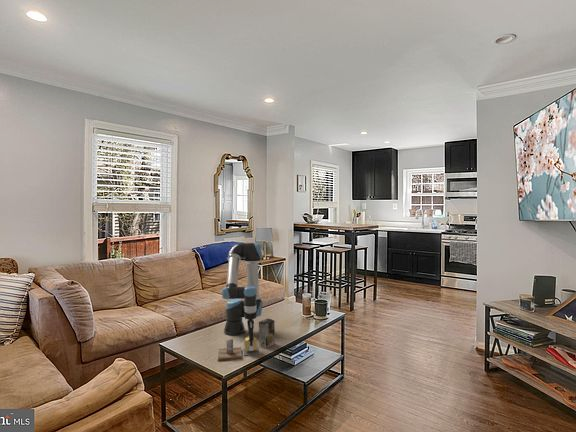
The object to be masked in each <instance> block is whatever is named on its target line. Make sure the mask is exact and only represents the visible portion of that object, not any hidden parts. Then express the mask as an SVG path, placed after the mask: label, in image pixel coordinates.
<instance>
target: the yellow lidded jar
mask: <svg viewBox="0 0 576 432" xmlns="http://www.w3.org/2000/svg"><path fill="white" fill-rule="evenodd" d="M253 339H254V340H253V349H254V350H255V349H257V347H258V338H257V337H256V336H253ZM248 340H249V337H248V336H246V337H245V338H244V348H245V350H248V351H249V341H248Z"/></svg>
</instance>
